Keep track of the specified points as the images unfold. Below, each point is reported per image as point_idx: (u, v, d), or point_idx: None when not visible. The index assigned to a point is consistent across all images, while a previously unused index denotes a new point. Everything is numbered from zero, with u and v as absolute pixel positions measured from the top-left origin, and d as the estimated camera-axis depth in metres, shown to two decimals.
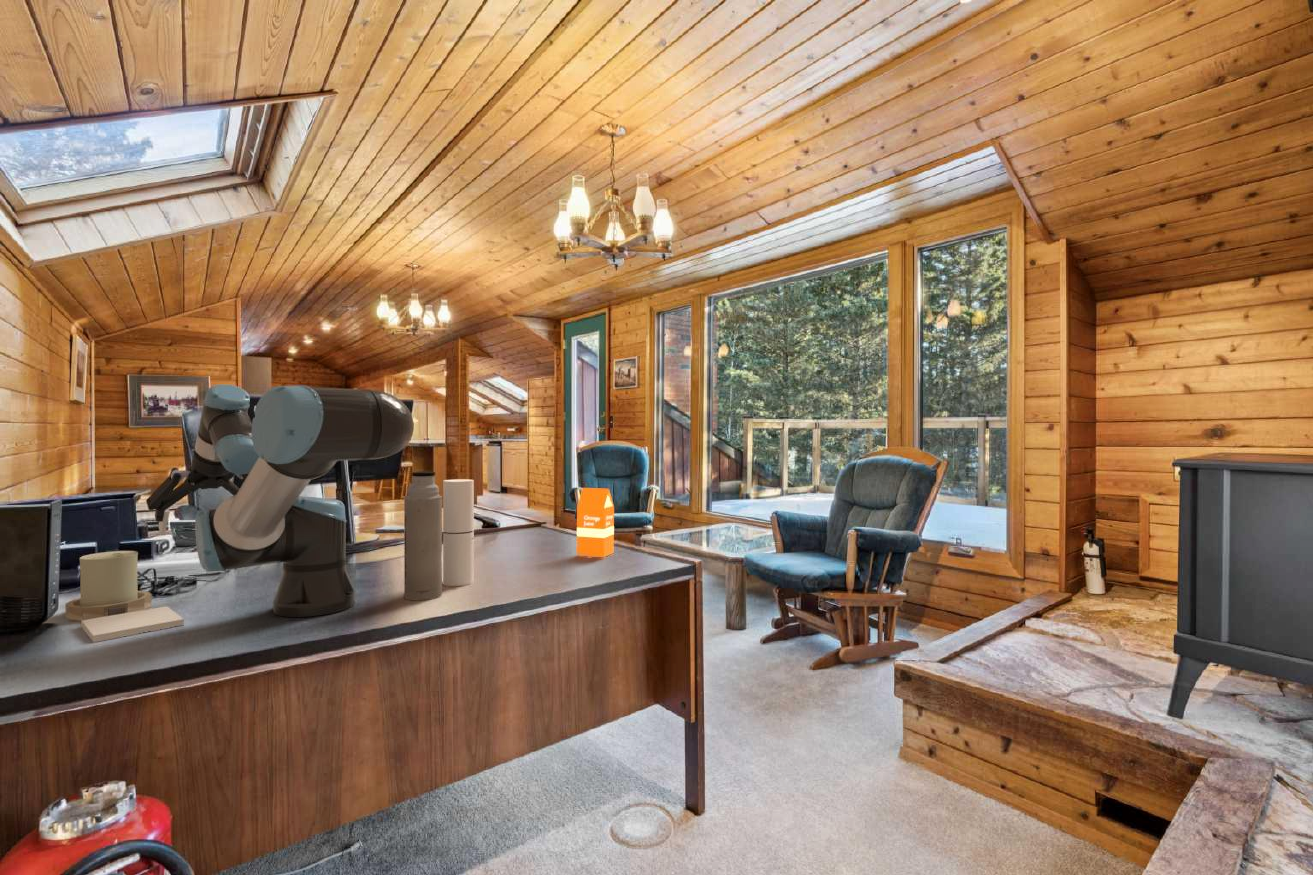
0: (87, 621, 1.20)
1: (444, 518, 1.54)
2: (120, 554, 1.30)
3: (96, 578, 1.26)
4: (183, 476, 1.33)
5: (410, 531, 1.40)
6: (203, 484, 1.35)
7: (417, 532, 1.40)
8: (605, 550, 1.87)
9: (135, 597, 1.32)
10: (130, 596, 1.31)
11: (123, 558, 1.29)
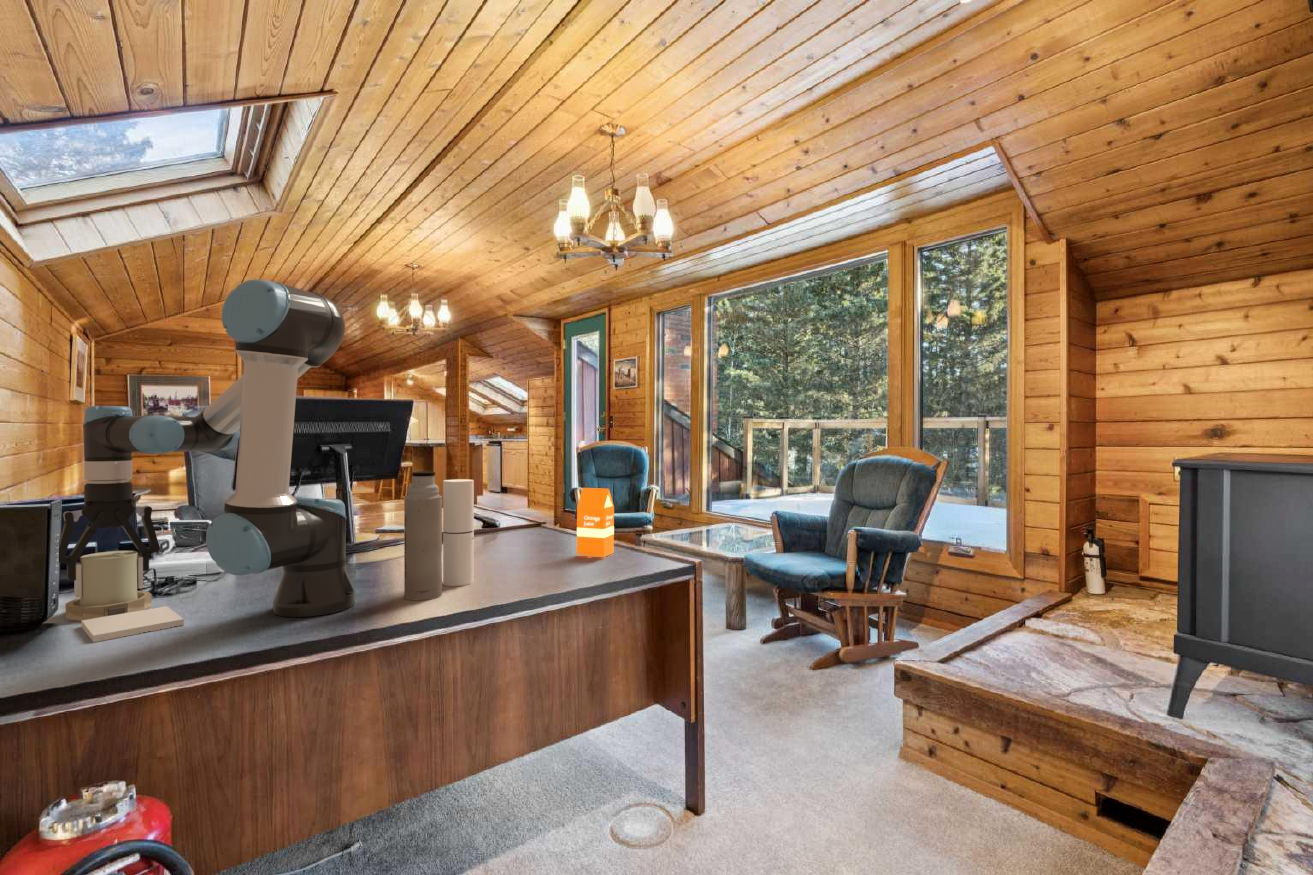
0: (87, 621, 1.20)
1: (444, 518, 1.54)
2: (120, 554, 1.30)
3: (96, 578, 1.26)
4: (76, 515, 1.27)
5: (410, 531, 1.40)
6: (101, 518, 1.28)
7: (417, 532, 1.40)
8: (605, 550, 1.87)
9: (135, 597, 1.32)
10: (130, 596, 1.31)
11: (123, 558, 1.29)
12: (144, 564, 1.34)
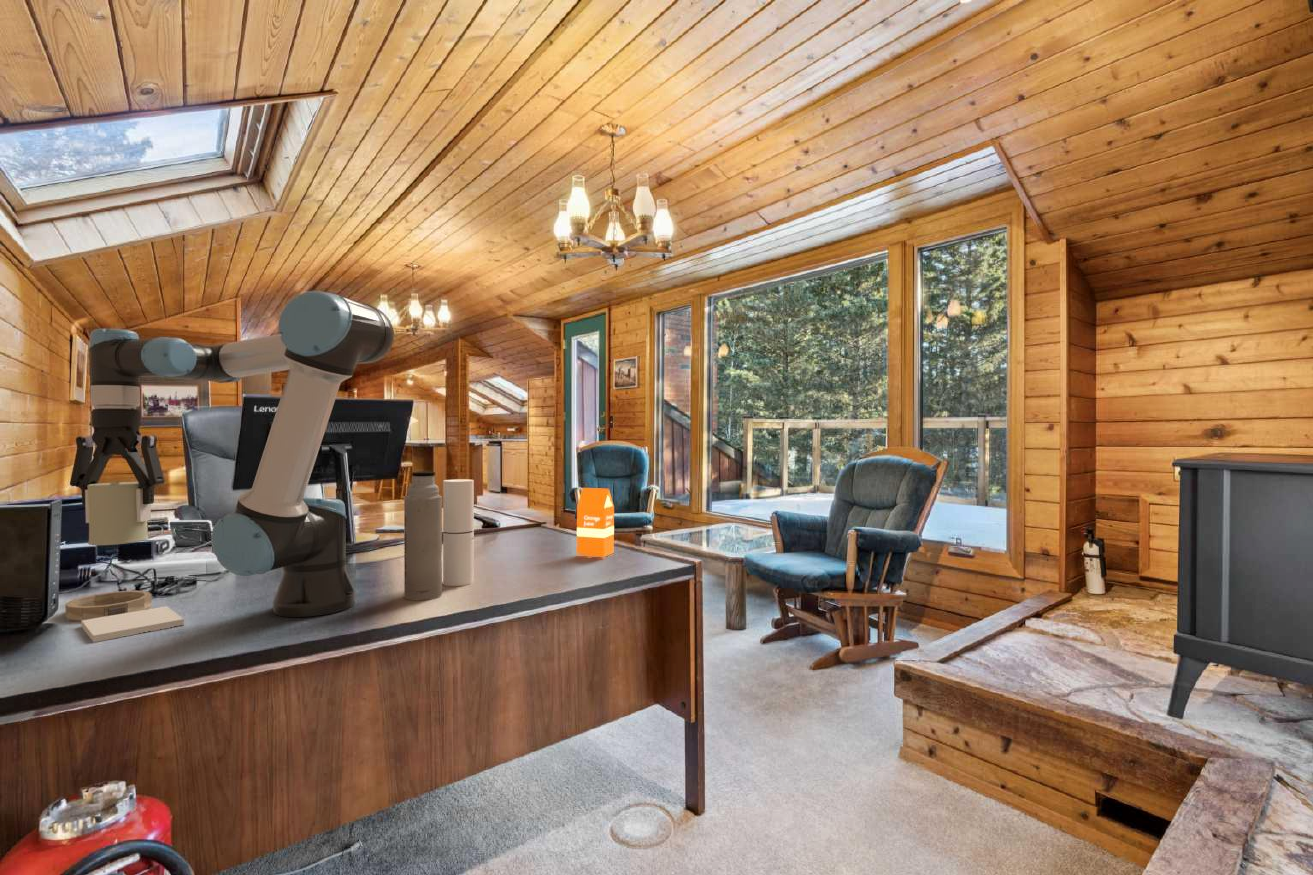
0: (87, 621, 1.20)
1: (444, 518, 1.54)
2: (114, 483, 1.25)
3: (89, 504, 1.23)
4: (88, 440, 1.26)
5: (410, 531, 1.40)
6: (101, 444, 1.25)
7: (417, 532, 1.40)
8: (605, 550, 1.87)
9: (129, 530, 1.25)
10: (119, 528, 1.24)
11: (108, 487, 1.23)
12: (144, 497, 1.27)
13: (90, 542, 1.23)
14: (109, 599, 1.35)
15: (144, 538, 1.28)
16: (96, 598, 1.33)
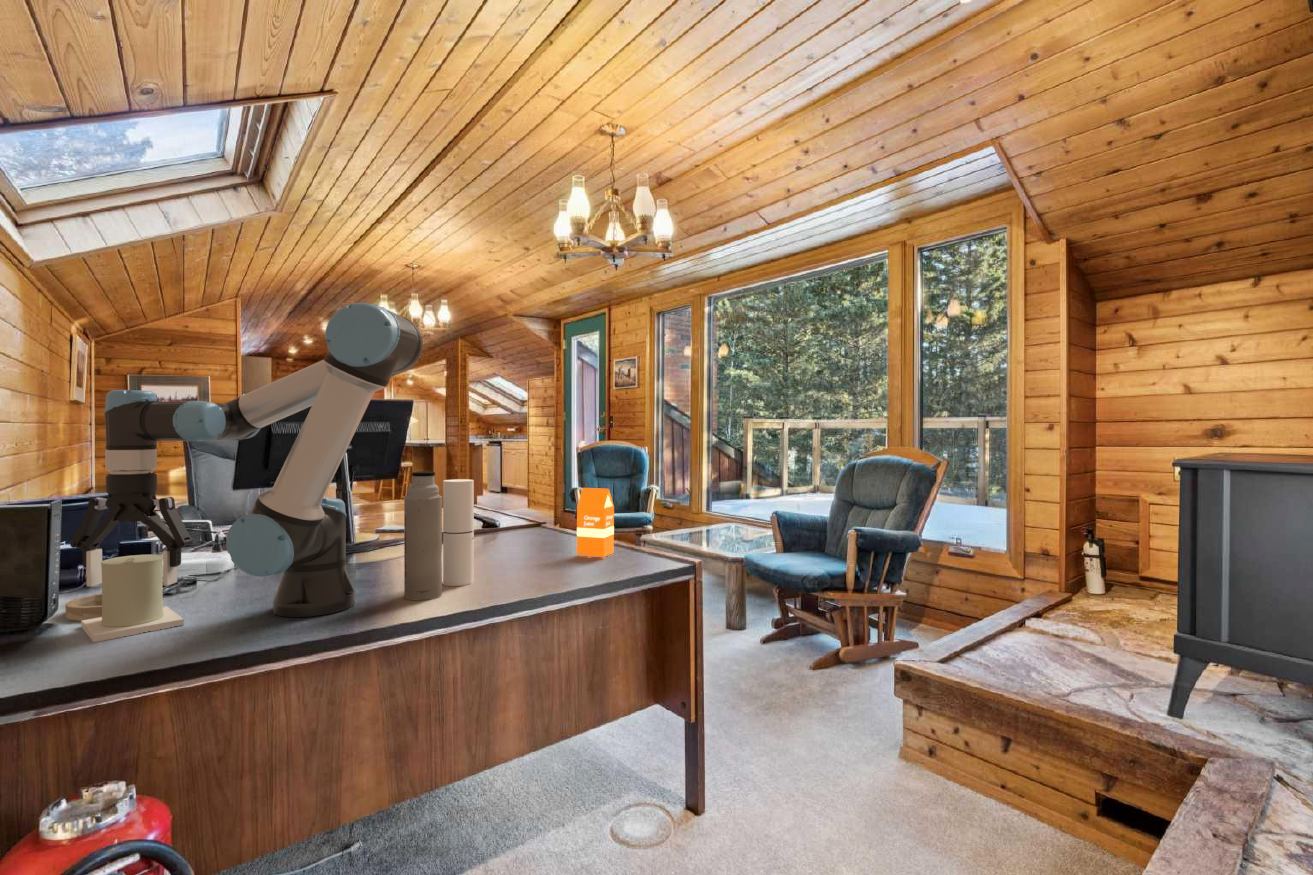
0: (87, 621, 1.20)
1: (444, 518, 1.54)
2: (130, 560, 1.18)
3: (103, 583, 1.17)
4: (101, 503, 1.20)
5: (410, 531, 1.40)
6: (115, 511, 1.19)
7: (417, 532, 1.40)
8: (605, 550, 1.87)
9: (144, 609, 1.19)
10: (135, 608, 1.18)
11: (124, 565, 1.17)
12: (171, 559, 1.21)
13: (103, 623, 1.17)
14: None
15: (160, 616, 1.22)
16: (96, 598, 1.33)
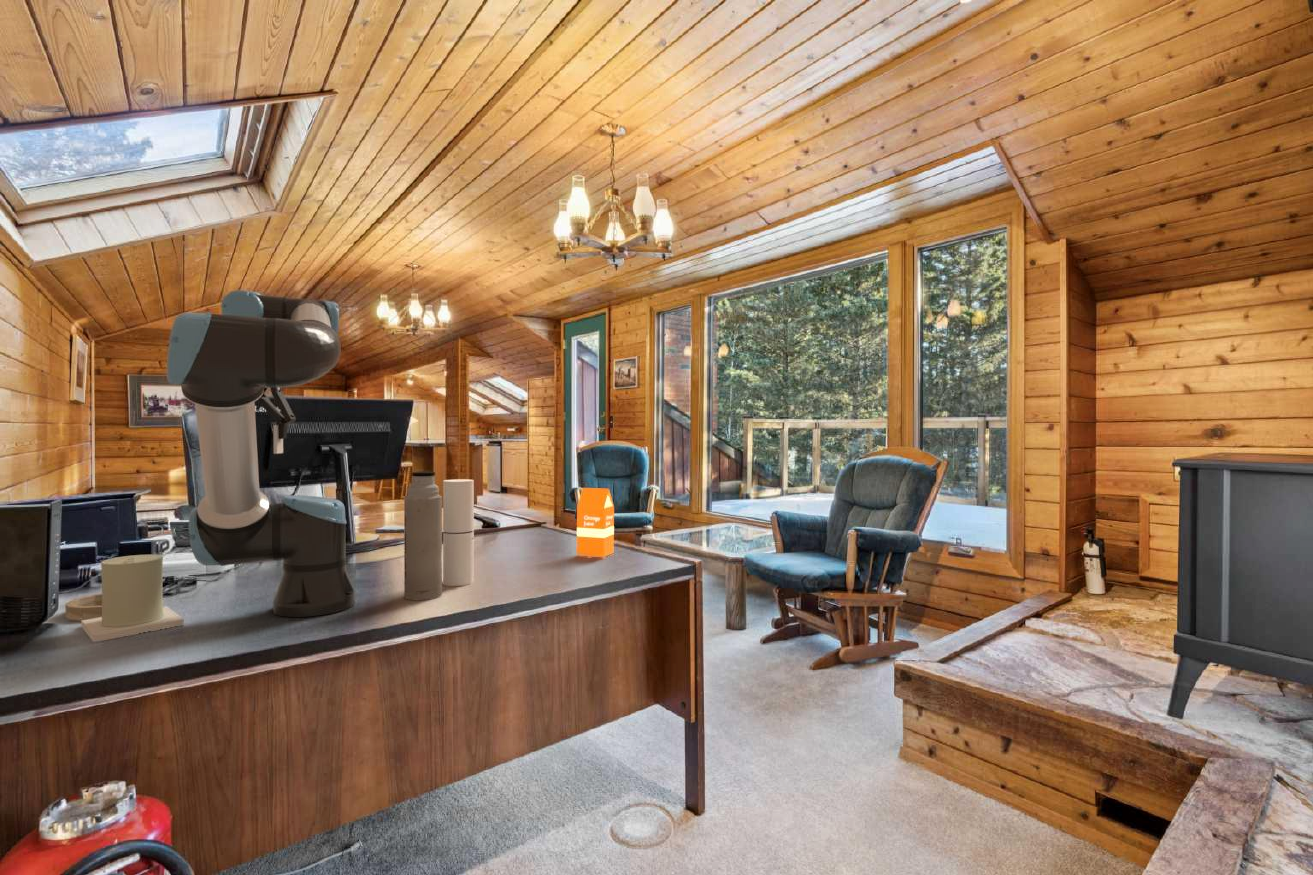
0: (87, 621, 1.20)
1: (444, 518, 1.54)
2: (130, 560, 1.18)
3: (103, 583, 1.17)
4: None
5: (410, 531, 1.40)
6: None
7: (417, 532, 1.40)
8: (605, 550, 1.87)
9: (144, 609, 1.19)
10: (135, 608, 1.18)
11: (124, 565, 1.17)
12: (280, 432, 1.46)
13: (103, 623, 1.17)
14: None
15: (159, 616, 1.22)
16: (96, 598, 1.33)
